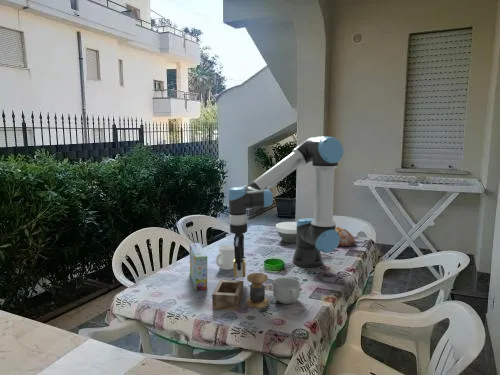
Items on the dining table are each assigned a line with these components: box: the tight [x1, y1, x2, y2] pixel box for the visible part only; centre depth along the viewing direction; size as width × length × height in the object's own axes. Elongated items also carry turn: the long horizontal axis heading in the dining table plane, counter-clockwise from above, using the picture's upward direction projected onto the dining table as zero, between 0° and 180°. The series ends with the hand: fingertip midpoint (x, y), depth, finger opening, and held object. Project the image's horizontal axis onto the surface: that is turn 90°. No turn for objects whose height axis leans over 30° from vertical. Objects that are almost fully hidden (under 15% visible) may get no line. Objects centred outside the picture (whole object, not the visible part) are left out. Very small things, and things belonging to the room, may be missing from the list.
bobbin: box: [245, 272, 270, 310], centre depth 143 cm, size 9×9×11 cm
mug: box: [215, 244, 235, 271], centre depth 181 cm, size 12×8×10 cm
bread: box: [336, 226, 356, 247], centre depth 222 cm, size 16×20×10 cm
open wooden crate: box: [211, 279, 245, 312], centre depth 145 cm, size 10×14×6 cm
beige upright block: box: [233, 259, 247, 278], centre depth 161 cm, size 5×3×9 cm, turn 82°
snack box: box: [189, 242, 208, 291], centre depth 165 cm, size 21×6×15 cm, turn 17°
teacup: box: [272, 276, 302, 305], centre depth 144 cm, size 14×11×8 cm
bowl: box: [275, 221, 297, 244], centre depth 228 cm, size 20×20×10 cm
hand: (240, 274), depth 162 cm, fingers closed on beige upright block, 3 cm apart
